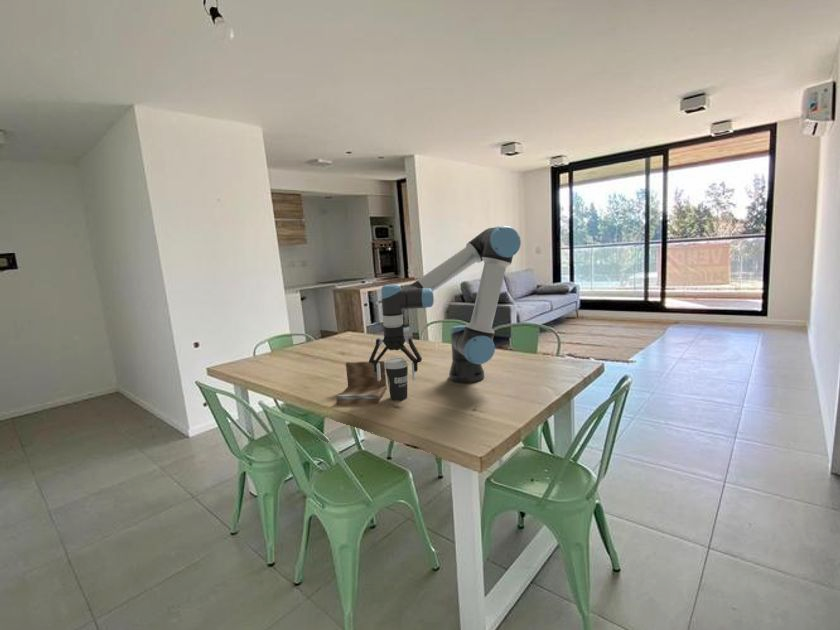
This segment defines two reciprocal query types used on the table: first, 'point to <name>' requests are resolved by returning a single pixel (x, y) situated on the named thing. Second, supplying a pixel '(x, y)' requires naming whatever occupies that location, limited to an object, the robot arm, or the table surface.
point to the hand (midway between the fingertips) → (396, 379)
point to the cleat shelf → (363, 384)
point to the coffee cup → (397, 377)
